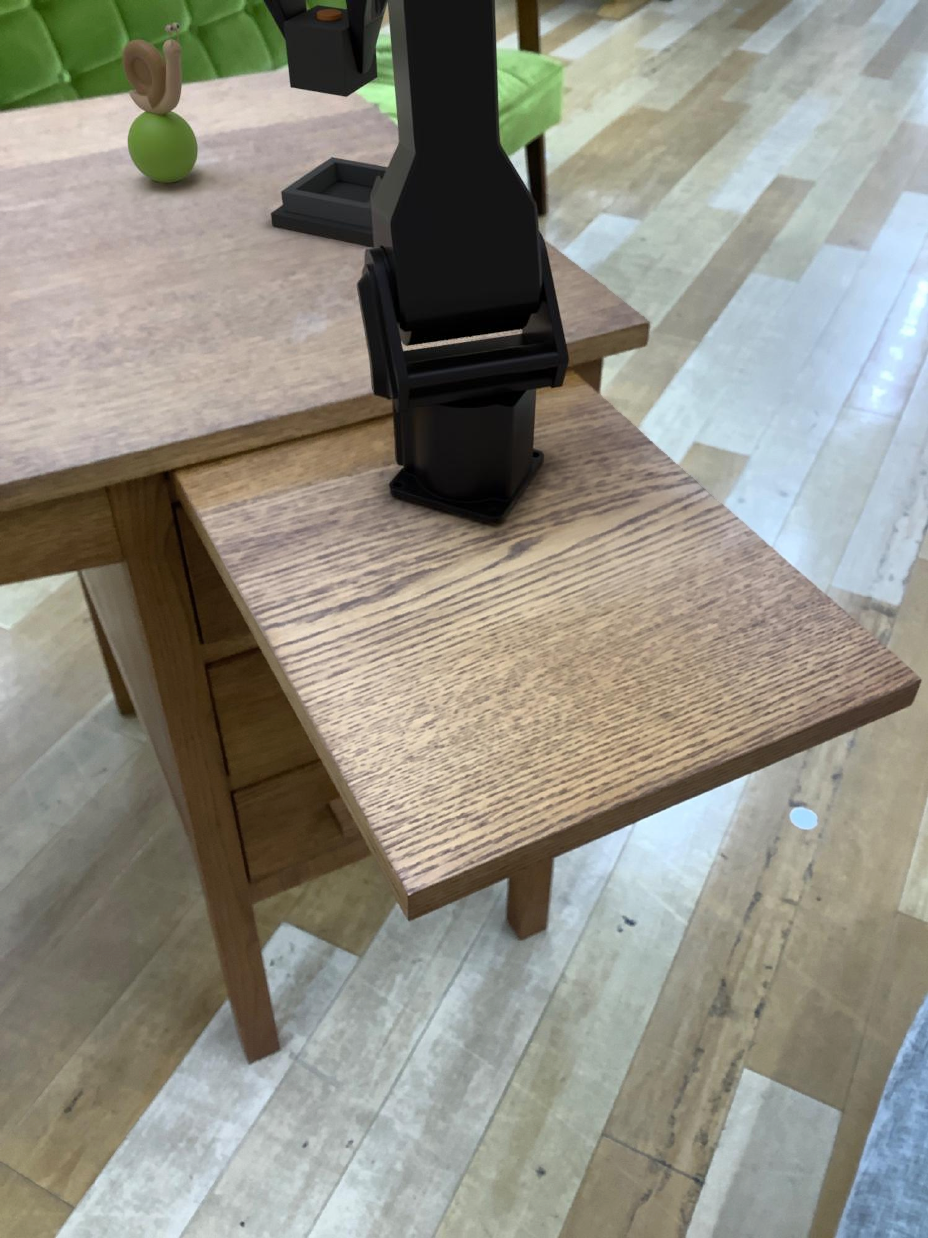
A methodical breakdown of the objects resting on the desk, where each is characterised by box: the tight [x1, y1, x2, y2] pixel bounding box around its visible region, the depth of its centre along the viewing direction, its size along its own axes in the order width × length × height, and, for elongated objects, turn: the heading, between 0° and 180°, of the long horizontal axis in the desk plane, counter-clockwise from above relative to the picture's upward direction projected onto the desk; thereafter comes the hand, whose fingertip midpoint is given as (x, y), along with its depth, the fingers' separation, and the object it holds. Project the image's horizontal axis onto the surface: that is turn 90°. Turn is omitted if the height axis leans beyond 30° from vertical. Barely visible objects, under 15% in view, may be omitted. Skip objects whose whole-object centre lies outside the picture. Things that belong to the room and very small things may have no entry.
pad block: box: [284, 4, 378, 98], centre depth 70 cm, size 4×4×4 cm
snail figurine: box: [121, 21, 199, 184], centre depth 81 cm, size 5×6×12 cm
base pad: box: [270, 156, 388, 248], centre depth 80 cm, size 9×9×2 cm
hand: (333, 66), depth 71 cm, fingers closed on pad block, 4 cm apart
